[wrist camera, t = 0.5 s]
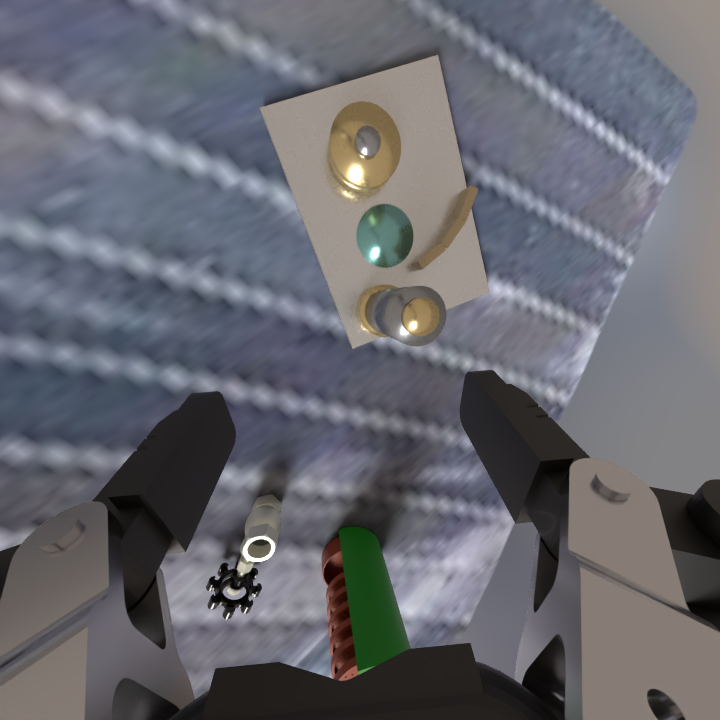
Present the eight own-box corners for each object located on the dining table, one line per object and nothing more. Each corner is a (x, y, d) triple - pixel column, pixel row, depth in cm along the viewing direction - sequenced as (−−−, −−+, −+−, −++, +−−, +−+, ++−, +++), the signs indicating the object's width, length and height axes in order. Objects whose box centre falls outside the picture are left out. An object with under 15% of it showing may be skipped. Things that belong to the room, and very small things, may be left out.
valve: (248, 485, 35) (214, 561, 36) (236, 527, 29) (196, 616, 30) (296, 498, 37) (262, 569, 38) (295, 539, 31) (254, 623, 32)
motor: (316, 534, 39) (330, 765, 20) (376, 518, 40) (443, 717, 21) (326, 588, 41) (348, 838, 22) (383, 570, 43) (448, 790, 24)
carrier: (261, 115, 27) (253, 80, 22) (432, 64, 29) (455, 23, 24) (350, 346, 34) (358, 354, 29) (483, 292, 36) (508, 291, 31)
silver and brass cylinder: (349, 295, 31) (375, 294, 20) (395, 277, 32) (445, 267, 21) (366, 342, 33) (399, 364, 22) (409, 324, 33) (463, 337, 22)
